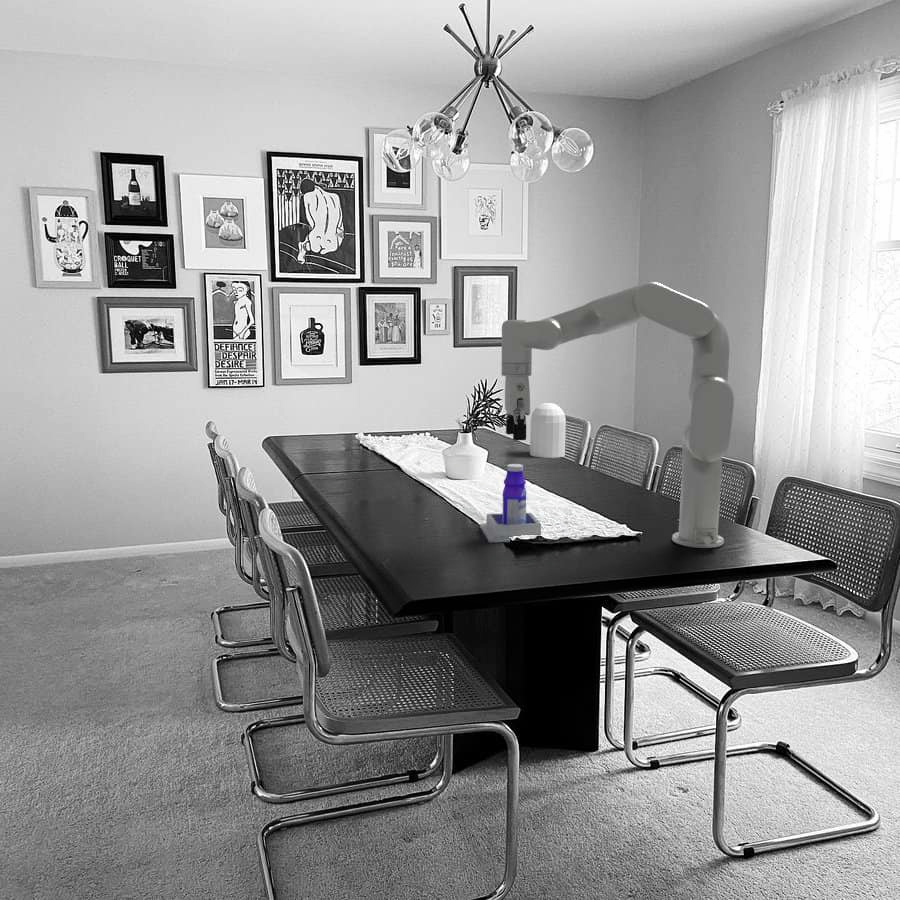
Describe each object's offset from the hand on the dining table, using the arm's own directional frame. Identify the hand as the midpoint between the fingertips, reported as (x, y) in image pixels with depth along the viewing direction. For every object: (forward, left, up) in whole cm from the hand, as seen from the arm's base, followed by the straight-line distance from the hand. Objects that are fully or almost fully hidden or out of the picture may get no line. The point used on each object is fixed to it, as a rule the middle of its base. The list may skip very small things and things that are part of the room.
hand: (515, 436), depth 235 cm
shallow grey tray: (0, 0, -25) cm, 25 cm away
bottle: (0, 0, -25) cm, 25 cm away
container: (+113, -35, -26) cm, 121 cm away
